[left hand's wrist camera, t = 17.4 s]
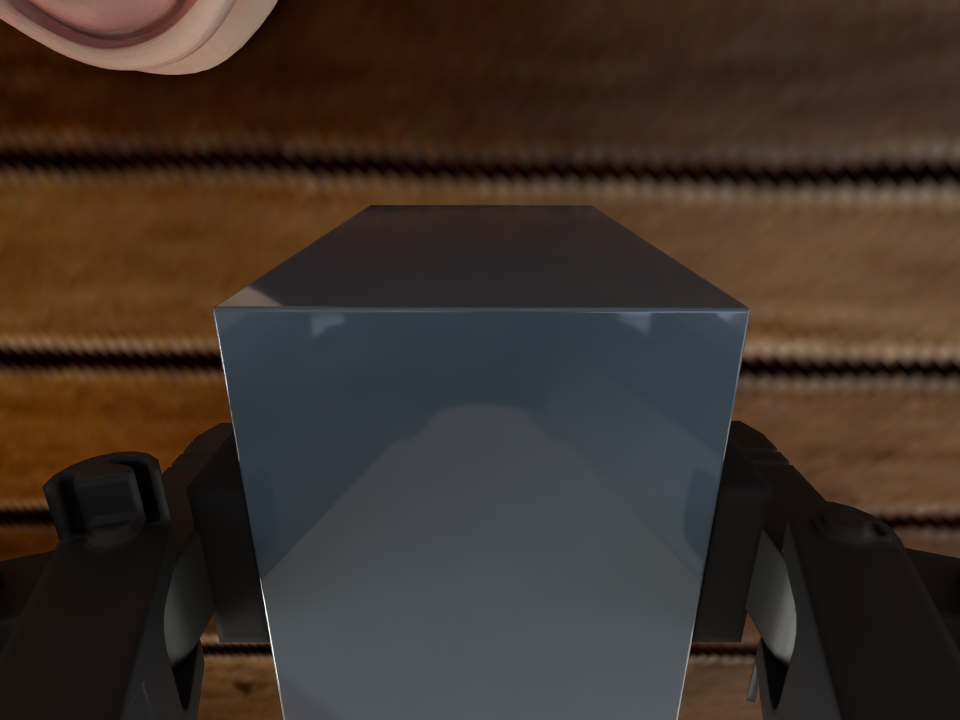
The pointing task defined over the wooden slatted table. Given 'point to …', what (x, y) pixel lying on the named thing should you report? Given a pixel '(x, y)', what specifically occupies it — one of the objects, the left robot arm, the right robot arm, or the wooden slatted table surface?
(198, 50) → the anatomical model
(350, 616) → the brick
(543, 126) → the wooden slatted table surface
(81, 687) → the left robot arm
